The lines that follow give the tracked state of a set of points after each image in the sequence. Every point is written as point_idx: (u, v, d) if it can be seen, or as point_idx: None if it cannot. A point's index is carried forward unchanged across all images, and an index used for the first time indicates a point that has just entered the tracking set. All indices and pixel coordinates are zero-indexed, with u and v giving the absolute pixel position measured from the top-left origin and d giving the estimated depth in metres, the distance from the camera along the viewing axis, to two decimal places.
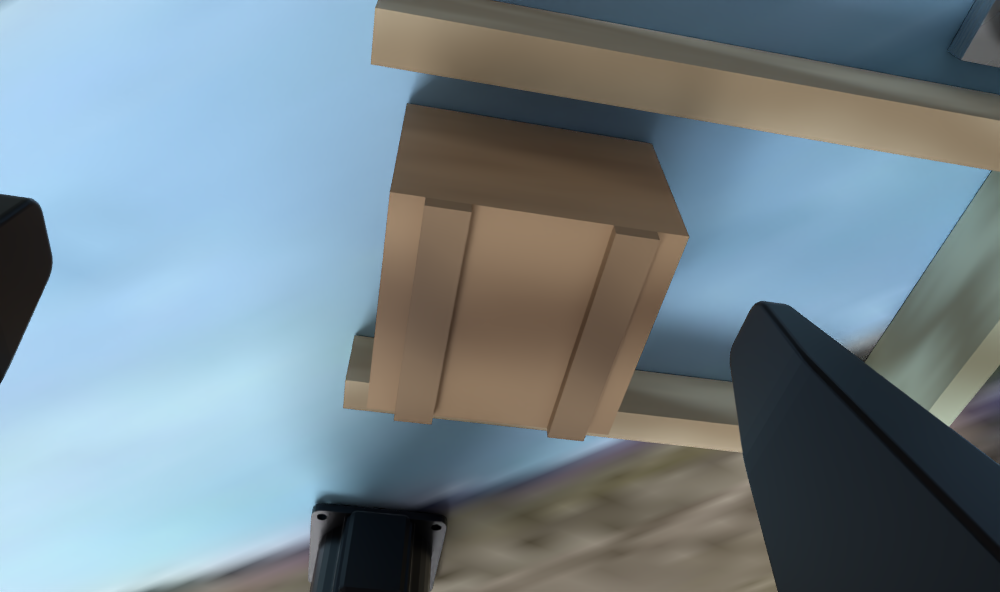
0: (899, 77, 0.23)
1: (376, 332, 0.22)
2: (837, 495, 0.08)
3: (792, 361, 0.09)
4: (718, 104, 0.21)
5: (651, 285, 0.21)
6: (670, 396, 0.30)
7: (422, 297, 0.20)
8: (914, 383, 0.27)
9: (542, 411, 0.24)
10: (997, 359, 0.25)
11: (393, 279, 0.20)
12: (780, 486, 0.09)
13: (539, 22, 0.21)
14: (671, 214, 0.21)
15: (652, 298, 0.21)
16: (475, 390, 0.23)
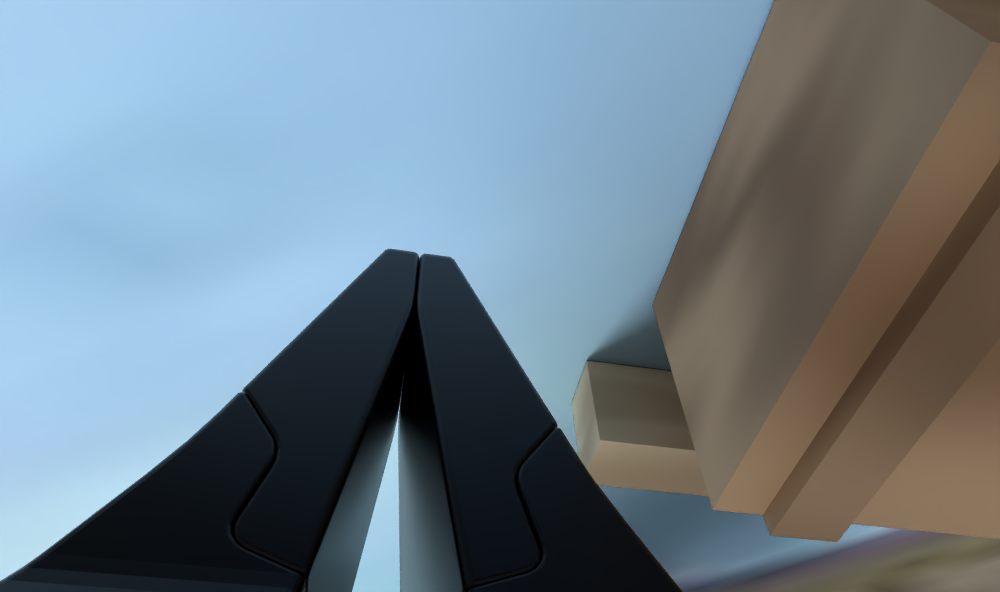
0: None
1: (798, 372, 0.10)
2: (416, 451, 0.07)
3: (413, 312, 0.08)
4: None
5: None
6: None
7: (957, 301, 0.09)
8: None
9: None
10: None
11: (888, 260, 0.09)
12: (404, 446, 0.08)
13: None
14: None
15: None
16: (933, 478, 0.12)
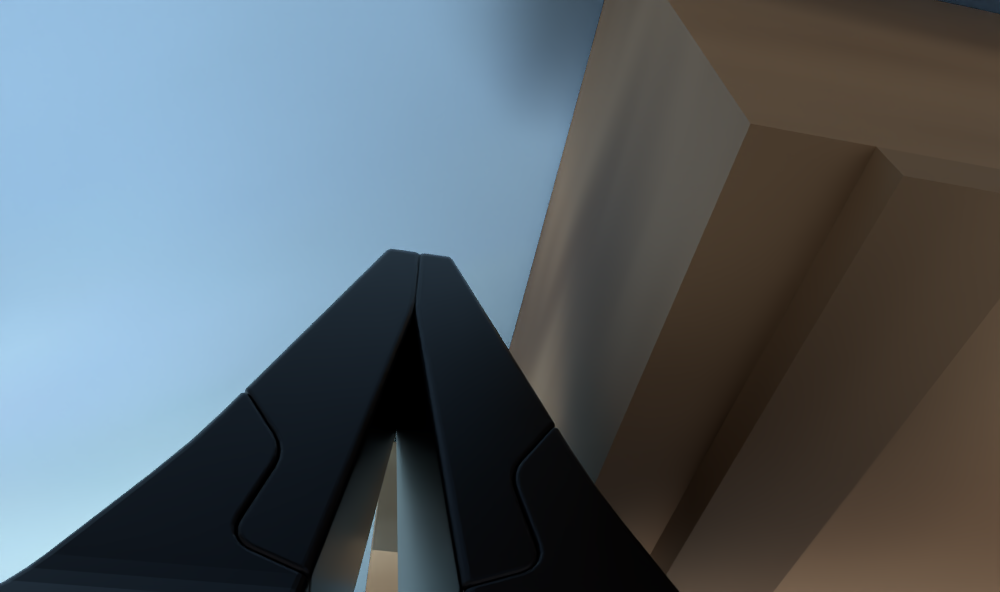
0: None
1: None
2: (414, 451, 0.07)
3: None
4: None
5: None
6: None
7: (759, 476, 0.06)
8: None
9: None
10: None
11: (665, 415, 0.07)
12: (402, 446, 0.08)
13: None
14: None
15: None
16: None
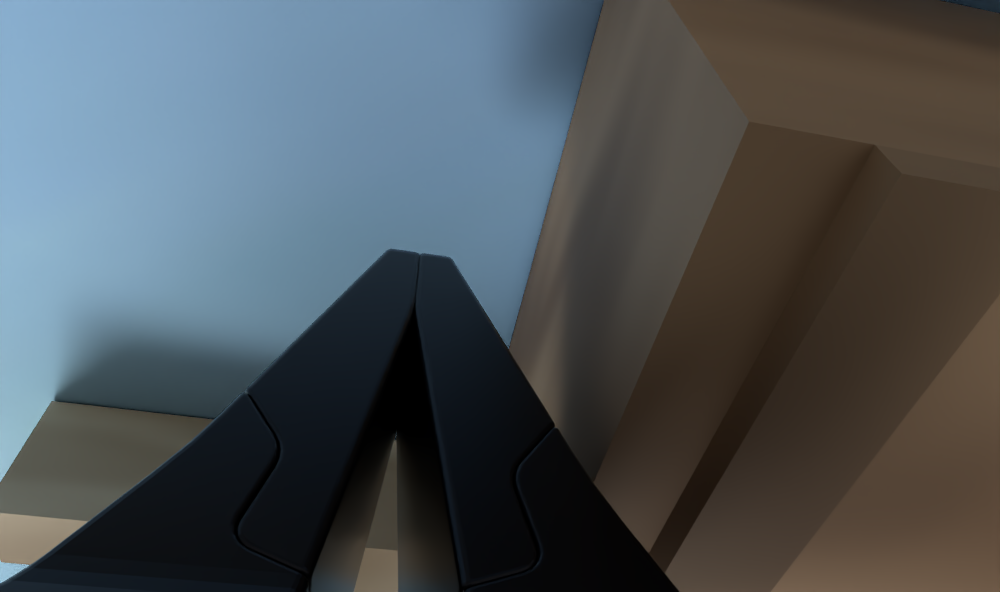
0: None
1: None
2: (414, 451, 0.07)
3: None
4: None
5: None
6: None
7: (758, 474, 0.06)
8: None
9: None
10: None
11: (664, 413, 0.07)
12: (402, 446, 0.08)
13: None
14: None
15: None
16: None
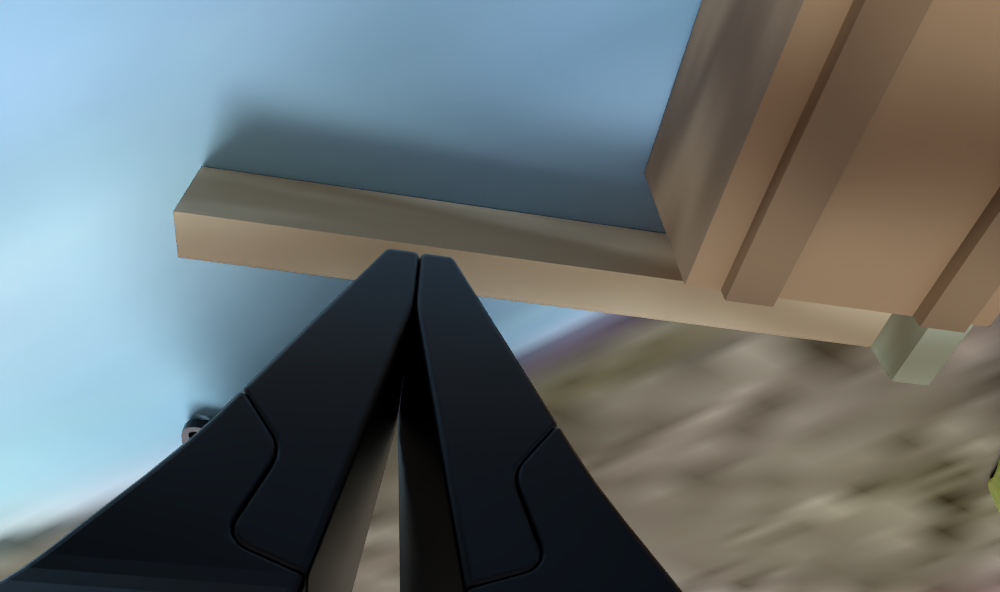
0: None
1: (737, 164, 0.16)
2: (416, 451, 0.07)
3: (413, 312, 0.08)
4: None
5: None
6: (630, 251, 0.22)
7: (834, 99, 0.14)
8: None
9: (916, 291, 0.18)
10: None
11: (791, 75, 0.14)
12: (404, 446, 0.08)
13: None
14: None
15: None
16: (839, 257, 0.17)
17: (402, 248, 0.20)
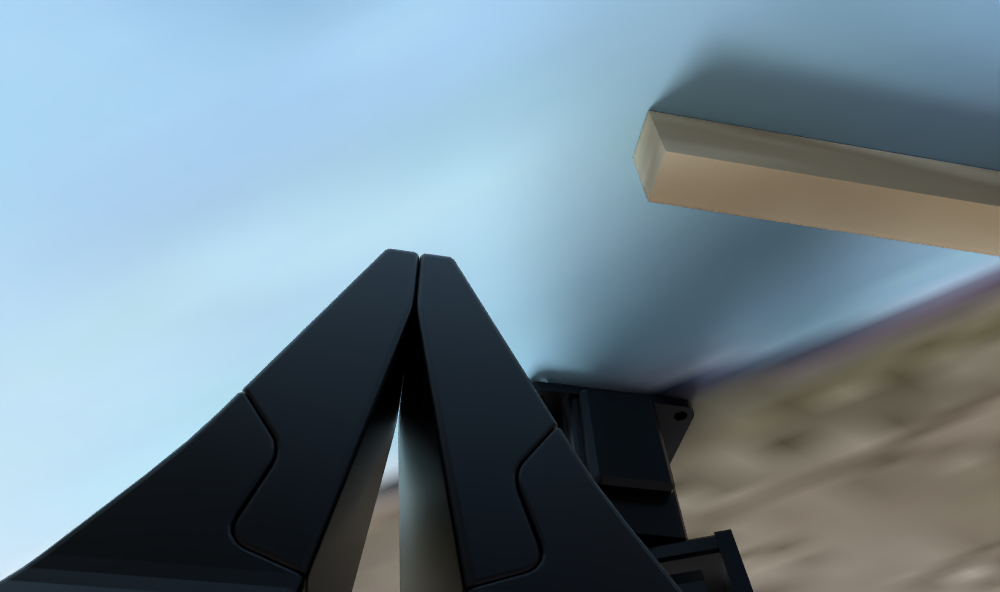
0: None
1: None
2: (416, 451, 0.07)
3: (413, 312, 0.08)
4: None
5: None
6: None
7: None
8: None
9: None
10: None
11: None
12: (404, 446, 0.08)
13: None
14: None
15: None
16: None
17: (879, 193, 0.20)
